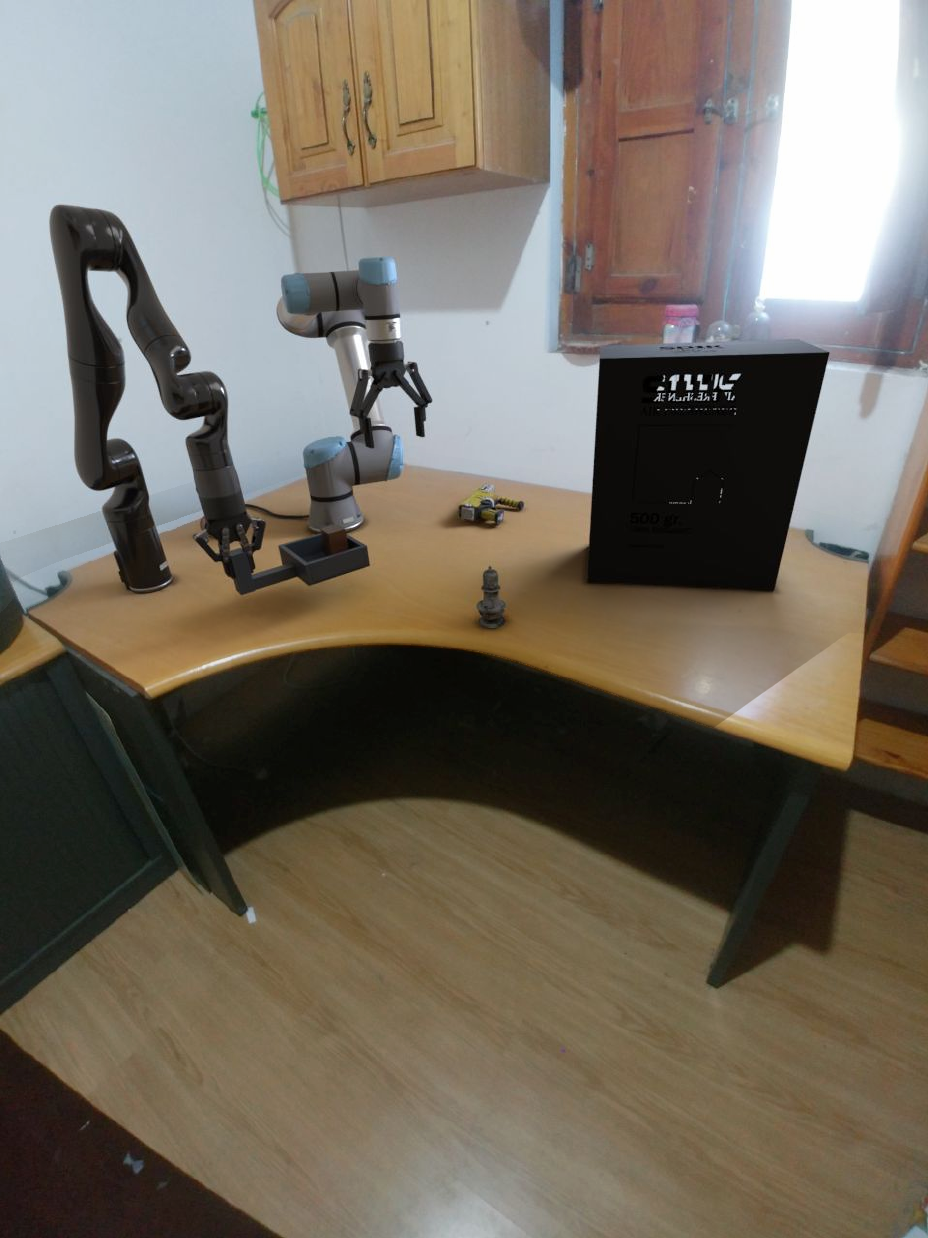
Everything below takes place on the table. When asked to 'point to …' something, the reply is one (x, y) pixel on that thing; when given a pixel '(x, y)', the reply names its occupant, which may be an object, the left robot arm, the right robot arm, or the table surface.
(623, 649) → the table surface
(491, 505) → the toy gun
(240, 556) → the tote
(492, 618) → the grey tall tiered piece
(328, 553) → the walnut block
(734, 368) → the cardboard box
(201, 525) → the eyeball
